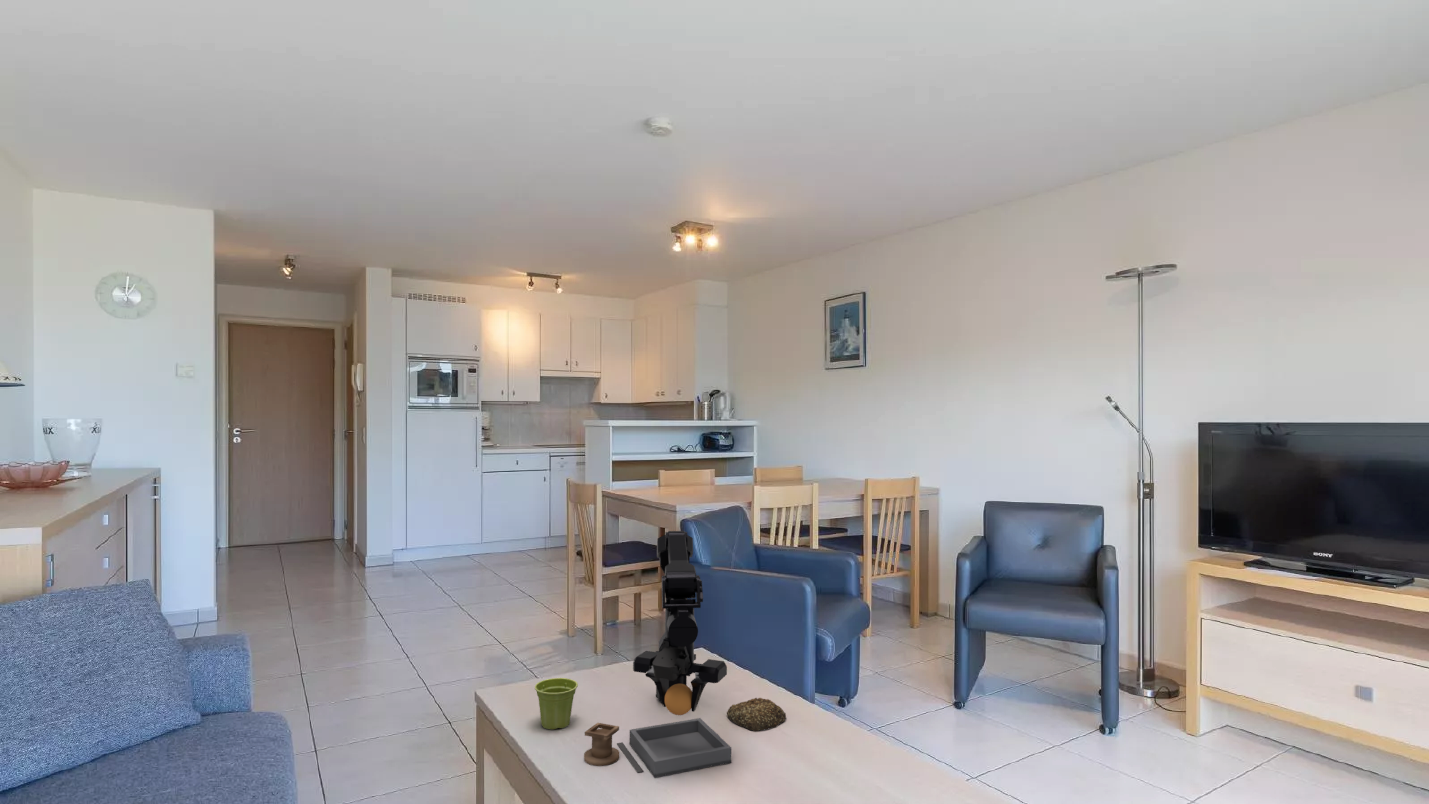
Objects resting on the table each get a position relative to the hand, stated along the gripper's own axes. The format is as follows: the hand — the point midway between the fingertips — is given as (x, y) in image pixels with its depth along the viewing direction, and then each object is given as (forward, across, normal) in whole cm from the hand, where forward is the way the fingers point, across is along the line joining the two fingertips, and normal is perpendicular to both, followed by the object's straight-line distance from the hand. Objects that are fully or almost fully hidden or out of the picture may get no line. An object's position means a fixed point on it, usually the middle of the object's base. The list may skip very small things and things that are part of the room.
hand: (679, 708), depth 153 cm
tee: (+9, -13, -8) cm, 18 cm away
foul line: (+9, -8, -6) cm, 13 cm away
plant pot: (+9, -31, +3) cm, 32 cm away
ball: (0, 0, +2) cm, 2 cm away
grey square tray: (+9, 0, 0) cm, 9 cm away
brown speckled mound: (+10, +9, +23) cm, 27 cm away
